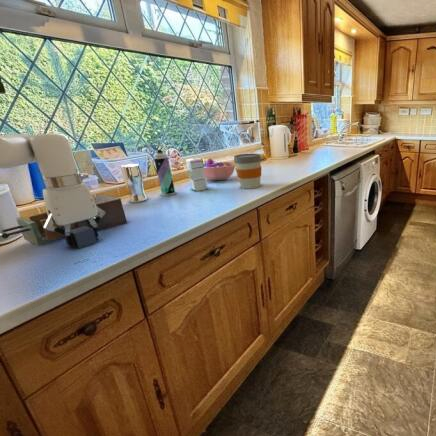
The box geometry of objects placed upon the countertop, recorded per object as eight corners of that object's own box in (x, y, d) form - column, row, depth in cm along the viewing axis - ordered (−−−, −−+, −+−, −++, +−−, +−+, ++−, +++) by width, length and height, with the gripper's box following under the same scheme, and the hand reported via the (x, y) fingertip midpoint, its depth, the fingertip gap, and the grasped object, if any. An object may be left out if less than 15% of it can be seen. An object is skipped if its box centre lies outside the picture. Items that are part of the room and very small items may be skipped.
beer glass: (125, 202, 127) (115, 166, 122) (138, 197, 134) (130, 163, 129) (139, 202, 126) (129, 167, 121) (151, 198, 132) (143, 164, 127)
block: (79, 248, 84) (74, 233, 83) (71, 245, 86) (66, 231, 85) (97, 242, 88) (92, 228, 86) (89, 239, 90) (85, 225, 88)
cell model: (226, 184, 153) (223, 161, 149) (192, 183, 157) (188, 161, 154) (243, 177, 168) (240, 156, 164) (211, 176, 173) (208, 156, 169)
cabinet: (81, 236, 92) (72, 210, 89) (64, 230, 98) (55, 205, 95) (127, 222, 103) (120, 198, 100) (109, 217, 109) (102, 194, 106)
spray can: (160, 194, 138) (150, 149, 131) (173, 191, 142) (163, 148, 135) (164, 196, 134) (154, 150, 128) (177, 193, 138) (167, 149, 131)
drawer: (11, 254, 80) (1, 230, 77) (-2, 247, 84) (-13, 224, 82) (89, 230, 94) (83, 210, 92) (74, 225, 99) (67, 205, 97)
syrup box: (207, 188, 145) (202, 158, 140) (195, 191, 141) (189, 160, 136) (203, 187, 149) (197, 157, 144) (191, 189, 145) (185, 159, 140)
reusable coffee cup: (255, 190, 139) (251, 157, 134) (232, 189, 143) (227, 157, 138) (268, 184, 151) (265, 153, 145) (246, 182, 154) (243, 153, 149)
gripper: (92, 174, 89) (109, 231, 96) (16, 187, 76) (42, 252, 82) (105, 176, 86) (122, 235, 92) (28, 190, 72) (54, 258, 78)
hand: (84, 242), depth 87 cm, fingers closed on block, 4 cm apart
